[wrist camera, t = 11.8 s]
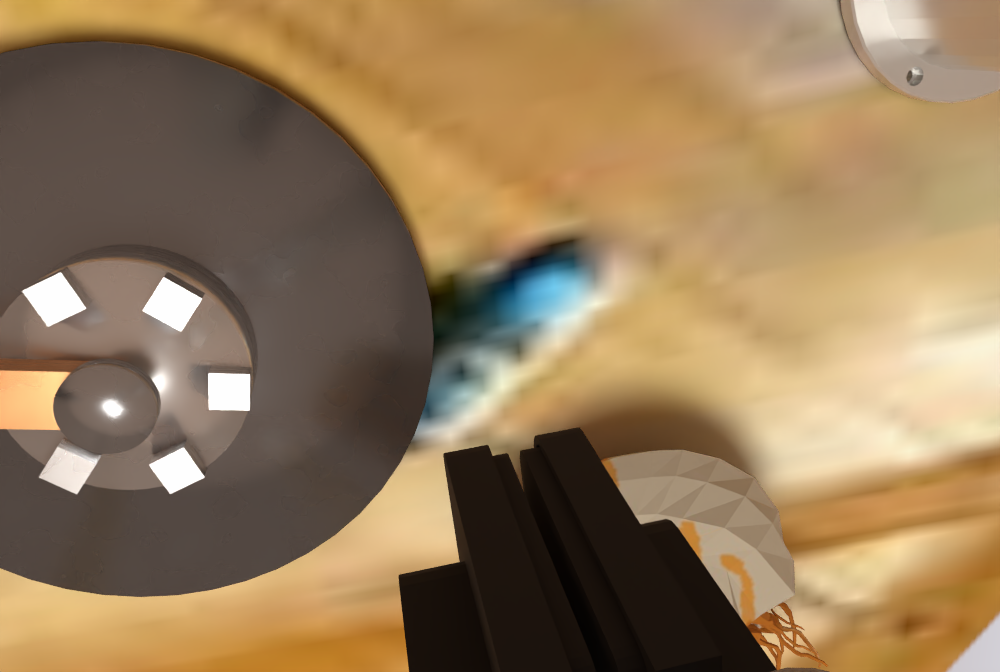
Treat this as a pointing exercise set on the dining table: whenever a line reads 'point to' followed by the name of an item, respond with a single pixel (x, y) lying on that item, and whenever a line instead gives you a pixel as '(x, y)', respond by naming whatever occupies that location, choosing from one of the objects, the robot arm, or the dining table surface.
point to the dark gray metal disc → (252, 278)
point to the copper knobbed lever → (126, 369)
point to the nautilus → (719, 531)
